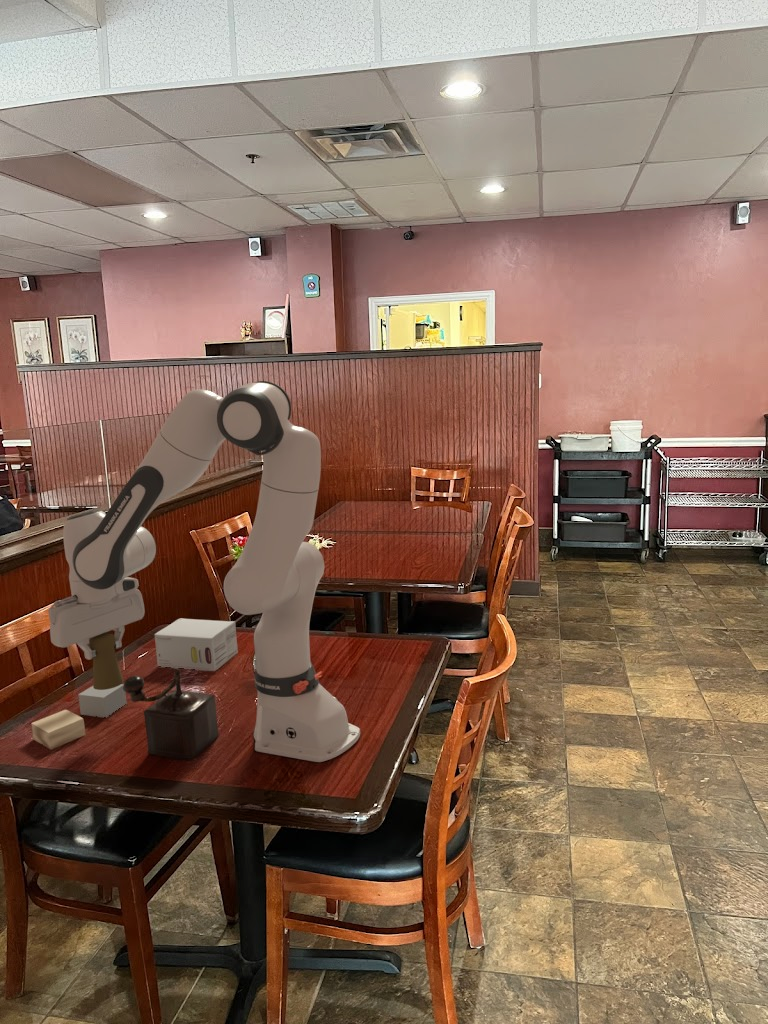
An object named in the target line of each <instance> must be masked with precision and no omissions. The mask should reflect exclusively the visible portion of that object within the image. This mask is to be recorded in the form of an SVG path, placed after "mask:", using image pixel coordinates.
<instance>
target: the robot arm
mask: <svg viewBox="0 0 768 1024" xmlns="http://www.w3.org/2000/svg"><path fill="white" fill-rule="evenodd" d="M291 402H292V401H291V400H290V397H289V395H288V392H286V390H284V388H282V387H281V386H280V385H278V384H277V383H274V382H270V381H266V380H260V381H259V380H258V381H255V382H254V381H253V382H249V383H245V384H243V385H241V386H239V387H237V388H235V389H234V390H232V391H230V392H228V393H227V394H226V395H225V396H224V397H223V396H220V395H219V394H217V393H215V392H213V391H211V390H207V389H201V388H196V389H192V390H190V391H189V392H187V393H186V394H185V395H184V396H183V397H182V398H181V399H180V400H179V402H178V403H177V404H176V406H175V407H174V408H173V410H172V411H171V413H169V415H168V416H167V418H166V419H165V421H164V423H163V425H162V427H160V430H159V431H158V433H157V435H156V437H155V439H154V441H153V442H152V444H151V446H150V447H149V449H148V451H147V453H146V454H145V456H144V458H143V459H142V461H141V462H140V463H139V465H138V467H137V468H136V470H135V471H134V473H133V474H132V476H131V477H130V478H129V480H128V481H127V482H126V484H125V485H124V486H123V488H122V489H121V491H120V492H119V494H118V495H117V496H116V499H115V500H114V502H113V503H112V504H111V506H110V508H109V509H108V510H107V512H104V511H103V510H100V509H99V510H98V509H95V510H89V511H86V512H85V511H84V512H82V513H77V514H75V515H71V516H70V517H68V518H67V519H66V520H65V521H64V523H63V530H62V532H63V533H62V534H63V537H62V538H63V545H64V546H63V547H64V555H65V560H66V561H67V563H68V566H69V574H68V580H69V588H70V592H71V596H68V597H65V598H63V599H59V600H56V601H54V602H53V604H52V605H51V606H50V607H49V609H48V613H47V614H48V619H49V633H50V635H49V636H50V642H51V644H53V645H54V646H55V647H58V648H67V647H70V646H72V645H76V644H77V645H78V647H79V648H80V649H81V650H82V651H83V653H84V658H85V659H86V660H93V658H95V657H96V654H95V653H96V651H95V649H91V648H90V647H89V639H90V638H92V637H95V636H97V635H100V634H103V633H105V632H110V631H114V634H113V635H114V637H115V641H116V642H115V646H114V650H117V649H120V648H122V647H123V644H122V639H123V636H124V633H125V630H126V629H125V626H126V625H129V624H132V623H135V622H137V621H140V620H142V619H143V618H144V616H145V612H146V611H145V604H144V599H143V594H142V593H141V591H140V590H139V589H138V588H139V586H140V585H139V579H137V578H135V577H129V576H131V575H134V574H135V573H138V572H140V571H141V570H143V569H146V568H147V567H148V566H150V565H151V564H152V563H153V561H155V558H156V555H157V542H156V539H155V538H154V535H153V534H152V533H151V532H150V530H149V529H147V528H146V527H144V526H142V525H143V523H144V522H145V520H146V519H147V518H148V517H149V515H150V514H152V512H153V511H154V510H155V509H156V508H157V507H158V506H159V505H161V504H162V503H163V502H165V501H166V500H168V499H170V498H172V497H174V496H176V495H177V494H180V493H181V492H183V491H184V490H187V489H189V488H191V487H192V486H193V485H194V484H195V483H196V482H197V481H198V480H199V479H200V478H201V477H202V476H203V475H204V473H205V472H206V471H207V469H208V468H209V466H210V465H211V463H212V461H213V459H214V458H215V455H216V454H217V452H218V451H219V448H221V446H222V445H223V443H224V441H226V440H227V441H228V442H230V443H231V444H233V445H235V446H237V447H240V448H242V449H245V450H246V451H249V452H251V453H252V454H254V455H256V456H262V459H263V465H262V472H261V473H262V474H261V481H260V487H259V495H258V500H257V507H256V514H255V518H254V521H253V523H252V524H253V525H252V528H251V530H250V532H249V535H248V537H247V539H246V542H245V544H244V547H243V549H242V550H241V553H240V555H239V557H238V559H237V560H236V562H235V564H234V565H232V567H231V569H229V571H228V572H227V574H226V575H225V577H224V581H223V592H224V596H225V600H226V601H227V603H228V604H229V606H230V607H231V608H232V609H233V610H234V611H236V612H237V613H239V614H241V615H244V616H245V615H246V616H252V615H258V614H262V615H261V617H260V619H259V622H258V623H257V625H256V627H255V629H254V633H253V645H254V656H255V669H254V680H253V681H254V684H255V686H254V687H255V689H256V690H257V701H256V702H257V704H256V721H255V727H254V732H253V739H254V741H255V742H254V750H255V751H256V752H258V753H264V754H270V755H275V756H280V757H281V756H282V757H286V758H291V759H292V758H293V759H298V760H304V761H309V762H314V763H322V762H325V761H328V760H332V759H334V758H336V757H338V756H340V755H341V754H343V753H344V752H346V751H348V750H349V749H350V748H351V747H352V746H354V744H356V743H357V742H358V740H359V739H360V736H361V729H360V728H359V727H358V726H356V725H354V724H352V723H349V720H348V719H349V718H348V715H347V711H346V708H345V706H344V705H343V704H342V703H341V702H340V701H339V700H338V699H337V697H335V696H333V695H332V694H331V693H330V692H329V691H328V690H326V688H325V687H324V686H323V685H321V683H320V680H319V679H321V678H322V677H323V675H321V674H322V673H323V671H319V672H316V669H315V667H314V665H313V663H312V662H311V650H310V622H311V615H312V609H313V606H314V605H313V604H314V599H315V595H316V592H317V591H316V590H317V587H318V585H319V582H320V581H321V578H322V577H323V575H324V573H325V561H324V557H323V554H322V553H321V551H320V550H319V548H318V547H317V546H315V545H314V544H312V543H310V542H307V541H304V540H305V539H306V537H307V536H308V535H309V533H310V531H311V530H312V528H313V525H314V520H315V514H316V506H317V501H318V496H319V495H318V494H319V488H320V481H321V471H322V470H321V468H322V461H321V460H322V450H321V442H320V440H319V437H318V436H317V435H316V434H315V433H314V432H312V431H311V430H309V429H306V428H304V427H302V426H296V425H294V424H293V423H292V422H290V419H291V415H292V404H291Z"/></svg>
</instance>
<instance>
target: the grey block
mask: <svg viewBox="0 0 768 1024" xmlns="http://www.w3.org/2000/svg"><path fill="white" fill-rule="evenodd" d="M123 686H124V683H122V684H121V685H119V686H117V687H114V688H111V689H106V690H97V689H94V688H93V685H92V686H90V687H88V688H87V689H85V690H83V691H82V692H80V693H78V695H77V696H78V697H77V698H78V702H79V703H78V705H79V709H80V715H82V716H83V715H84V716H91V717H96V716H97V718H104V717H106V719H107V718H109V717H110V716H112V715H113V714H114V713H116V712H117V711H119V710H120V709H121V707H122V706H123V707H125V706H126V705H127V703H128V701H127V695H126V693H127V692H125V691H124V690H123ZM125 704H126V705H125ZM124 705H125V706H124ZM123 707H122V708H123ZM119 708H120V709H119ZM118 709H119V710H118ZM116 710H117V711H116ZM115 711H116V712H115ZM113 712H114V713H113ZM112 713H113V714H112ZM109 715H110V716H109Z"/></svg>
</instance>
